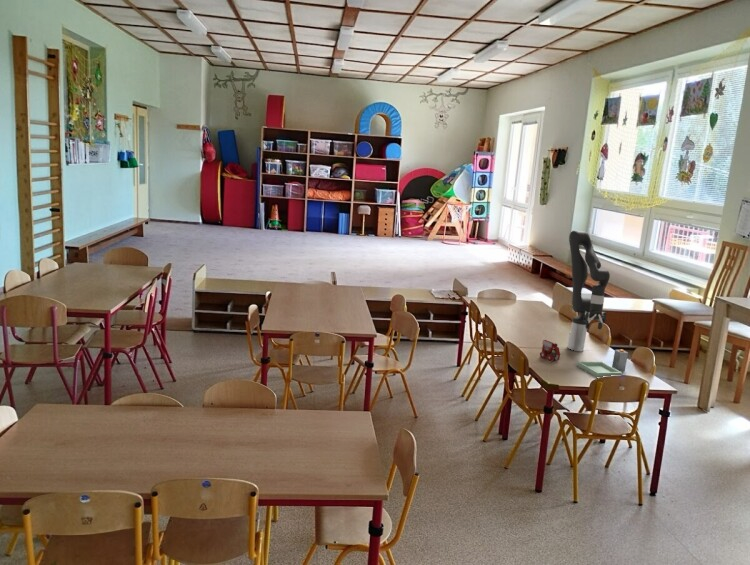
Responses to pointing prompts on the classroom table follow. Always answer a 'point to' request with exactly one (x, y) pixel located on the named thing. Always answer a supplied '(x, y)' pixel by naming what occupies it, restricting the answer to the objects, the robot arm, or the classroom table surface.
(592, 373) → the green tray
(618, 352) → the block
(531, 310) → the classroom table surface
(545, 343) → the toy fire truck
